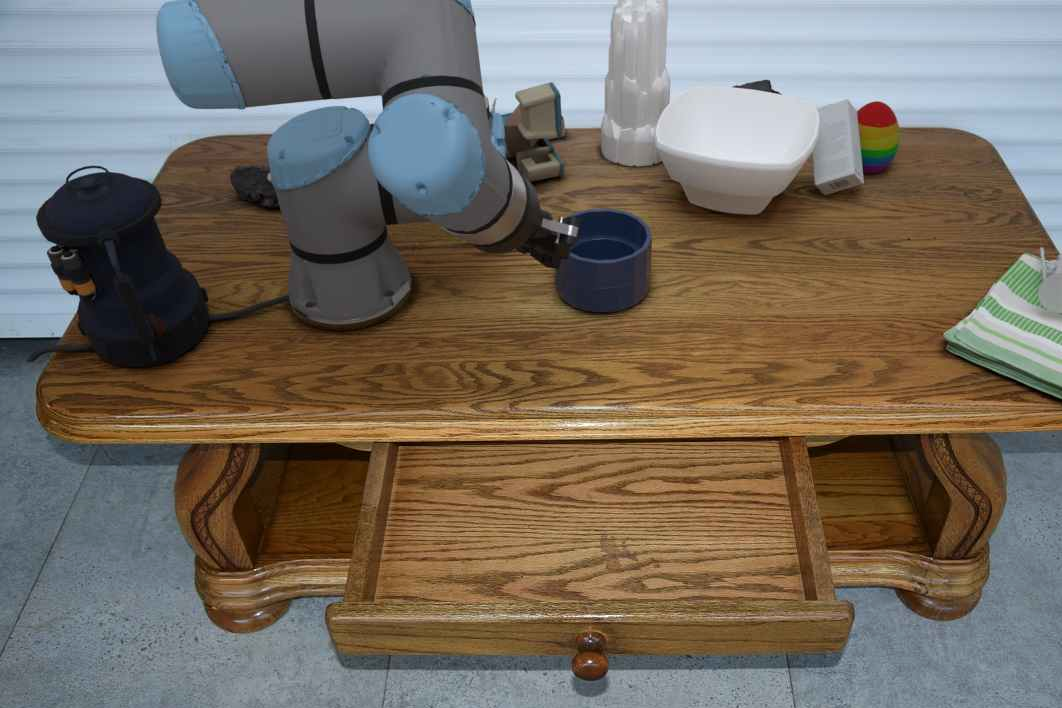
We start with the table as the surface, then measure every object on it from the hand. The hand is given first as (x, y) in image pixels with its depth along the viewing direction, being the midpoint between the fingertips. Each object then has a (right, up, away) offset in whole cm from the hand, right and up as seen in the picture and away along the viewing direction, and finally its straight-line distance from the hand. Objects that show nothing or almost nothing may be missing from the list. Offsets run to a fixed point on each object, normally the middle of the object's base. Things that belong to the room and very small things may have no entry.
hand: (555, 256), depth 102 cm
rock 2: (+29, +36, +52) cm, 70 cm away
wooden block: (-7, +23, +35) cm, 43 cm away
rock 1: (-42, +14, +36) cm, 56 cm away
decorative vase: (+10, +24, +46) cm, 53 cm away
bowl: (+24, +14, +35) cm, 45 cm away
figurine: (+60, -3, +10) cm, 60 cm away
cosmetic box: (+39, +15, +33) cm, 53 cm away
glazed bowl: (+5, -1, +19) cm, 20 cm away
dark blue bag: (-53, +5, +10) cm, 54 cm away
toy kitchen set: (-9, +26, +38) cm, 47 cm away
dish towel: (+59, -7, +12) cm, 61 cm away
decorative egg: (+45, +20, +42) cm, 65 cm away
